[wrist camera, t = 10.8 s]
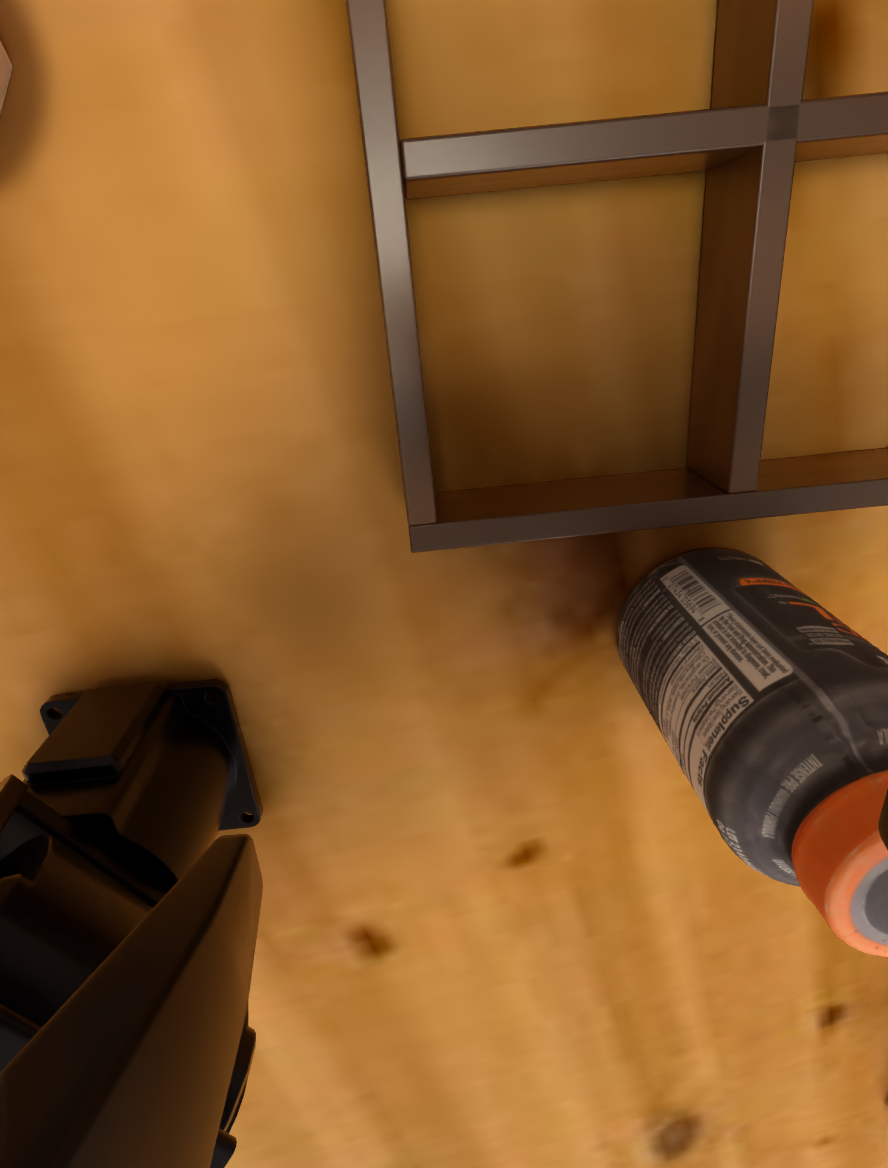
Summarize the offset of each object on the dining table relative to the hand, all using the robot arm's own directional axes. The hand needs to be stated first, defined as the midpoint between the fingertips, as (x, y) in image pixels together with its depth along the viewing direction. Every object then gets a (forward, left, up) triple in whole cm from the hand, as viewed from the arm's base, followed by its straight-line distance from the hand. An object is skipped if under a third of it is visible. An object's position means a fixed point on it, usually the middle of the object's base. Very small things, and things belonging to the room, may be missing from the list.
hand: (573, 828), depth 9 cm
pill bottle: (-4, -7, -13) cm, 16 cm away
